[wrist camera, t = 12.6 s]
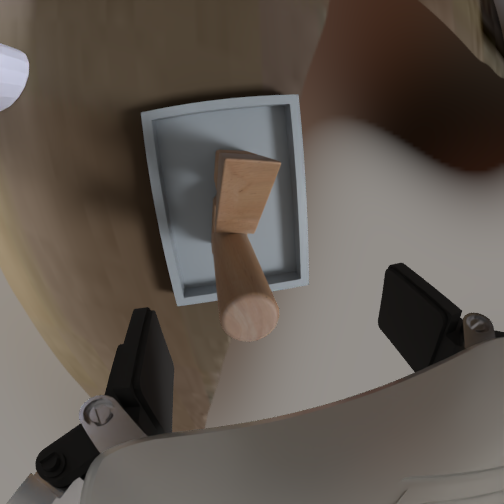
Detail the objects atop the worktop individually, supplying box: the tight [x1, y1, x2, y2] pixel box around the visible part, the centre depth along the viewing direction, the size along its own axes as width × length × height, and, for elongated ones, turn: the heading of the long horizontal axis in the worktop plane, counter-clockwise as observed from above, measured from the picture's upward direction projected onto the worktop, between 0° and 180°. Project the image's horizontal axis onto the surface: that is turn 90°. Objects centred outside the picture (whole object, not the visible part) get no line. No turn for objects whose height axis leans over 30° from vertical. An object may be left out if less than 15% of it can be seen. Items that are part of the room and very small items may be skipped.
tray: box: [141, 95, 309, 306], centre depth 31 cm, size 22×16×3 cm
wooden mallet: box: [211, 150, 281, 342], centre depth 24 cm, size 4×11×18 cm, turn 176°
